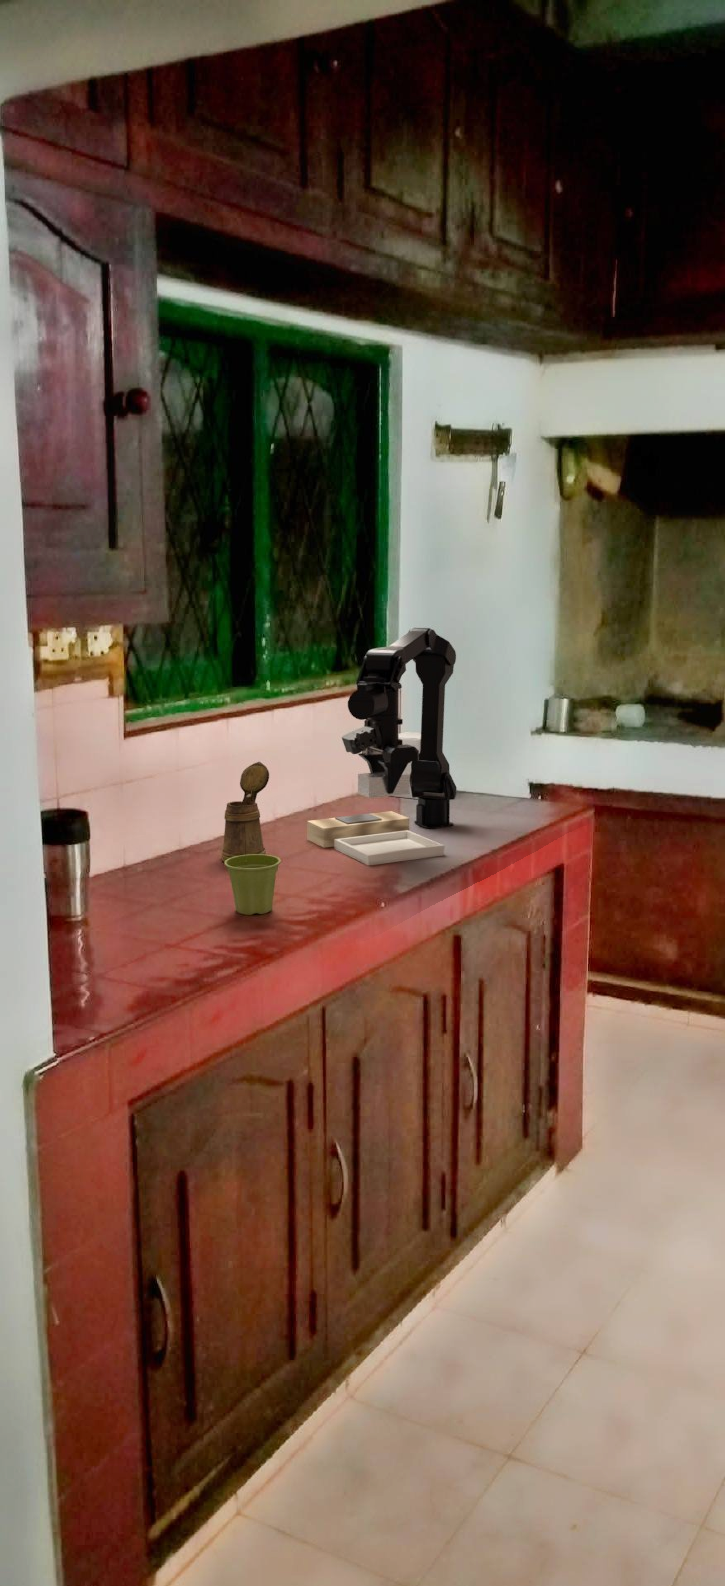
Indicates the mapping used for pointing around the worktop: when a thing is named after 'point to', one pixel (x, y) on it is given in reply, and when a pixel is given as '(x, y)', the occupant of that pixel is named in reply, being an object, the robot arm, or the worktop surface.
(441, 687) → the robot arm
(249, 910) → the plant pot
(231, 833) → the wooden mug
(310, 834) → the light wood plank
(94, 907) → the worktop surface
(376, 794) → the light grey block
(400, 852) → the parts tray
